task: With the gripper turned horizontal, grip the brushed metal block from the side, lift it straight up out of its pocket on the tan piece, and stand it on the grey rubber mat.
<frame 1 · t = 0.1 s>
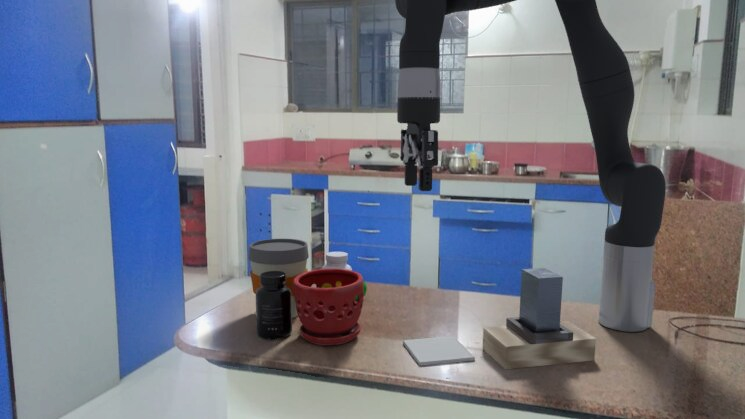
hand: (417, 188, 103), 29 cm above the counter, tool pointing down, fingers open, 8 cm apart
supplement bottle 2: (336, 312, 124), on the counter
polyhedron: (356, 299, 133), on the counter
supplement bottle: (274, 334, 111), on the counter
tan piece: (537, 354, 103), on the counter
brushed metal block: (538, 333, 102), point 4 cm above the counter, touching tan piece
rubber mat: (437, 351, 104), on the counter
plant pot: (328, 338, 110), on the counter
reusable coffee cup: (279, 313, 123), on the counter
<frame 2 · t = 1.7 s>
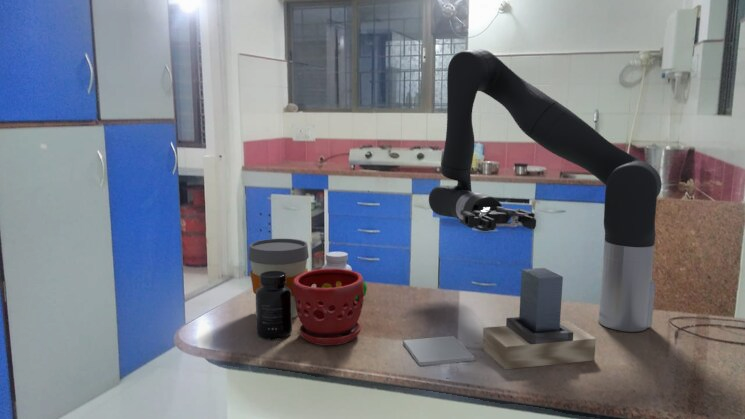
hand: (513, 224, 110), 22 cm above the counter, tool horizontal, fingers open, 8 cm apart
nothing on the counter moved.
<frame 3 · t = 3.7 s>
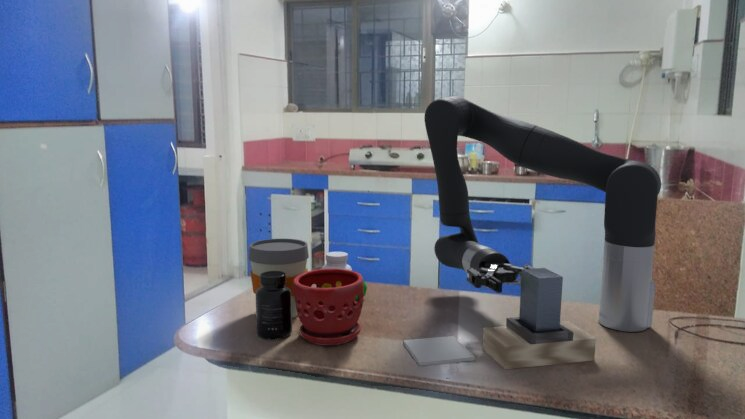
hand: (521, 286, 108), 11 cm above the counter, tool horizontal, fingers open, 8 cm apart
nothing on the counter moved.
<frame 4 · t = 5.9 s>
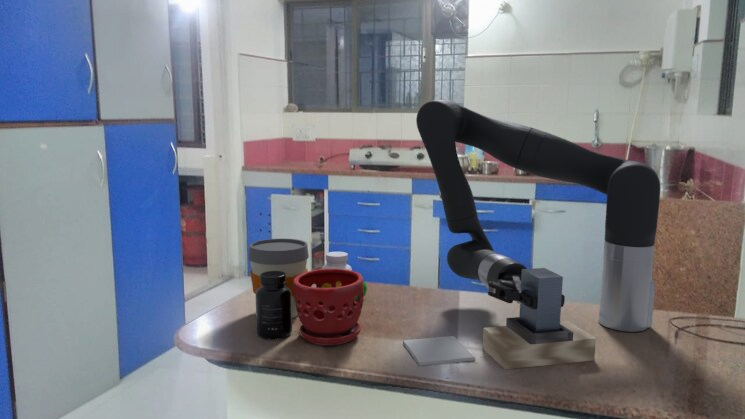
hand: (548, 302, 99), 10 cm above the counter, tool horizontal, fingers closed on brushed metal block, 4 cm apart
brushed metal block: (538, 333, 102), point 4 cm above the counter, touching gripper, tan piece
everything else where it was.
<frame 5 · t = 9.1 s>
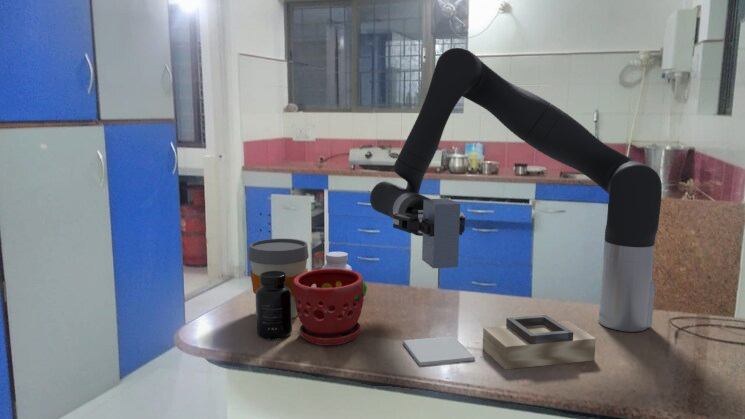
hand: (446, 229, 97), 23 cm above the counter, tool horizontal, fingers closed on brushed metal block, 4 cm apart
brushed metal block: (439, 263, 101), point 16 cm above the counter, touching gripper
everything else where it was.
when the fingers open (8 cm above the counter, at t = 12.2 s): brushed metal block drops 1 cm, resting on rubber mat.
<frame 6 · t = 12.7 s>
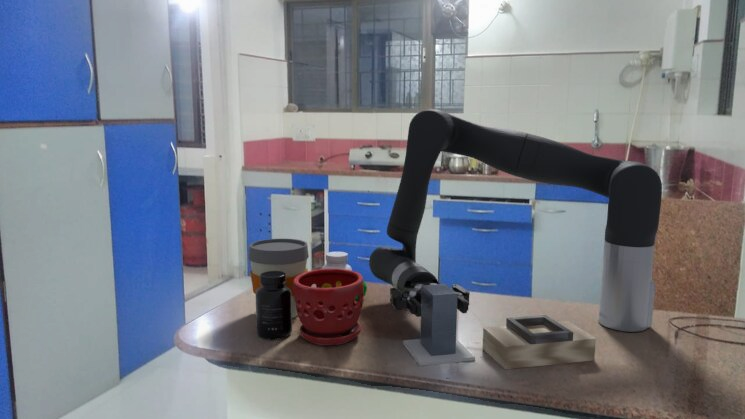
hand: (442, 309, 100), 9 cm above the counter, tool horizontal, fingers open, 8 cm apart
brushed metal block: (437, 348, 104), point 1 cm above the counter, touching rubber mat
everything else where it was.
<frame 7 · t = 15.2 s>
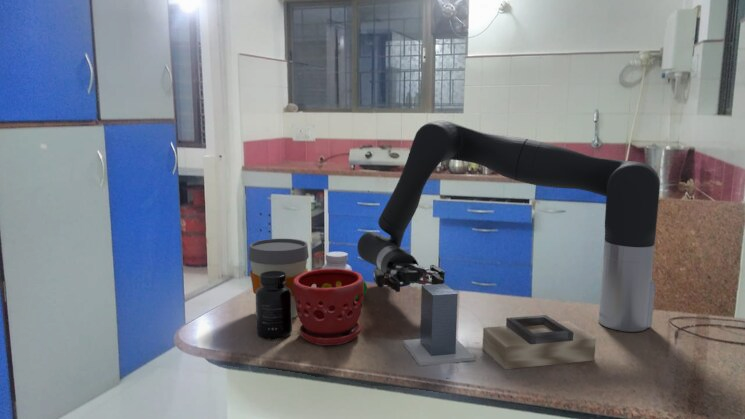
hand: (419, 285, 113), 9 cm above the counter, tool horizontal, fingers open, 8 cm apart
nothing on the counter moved.
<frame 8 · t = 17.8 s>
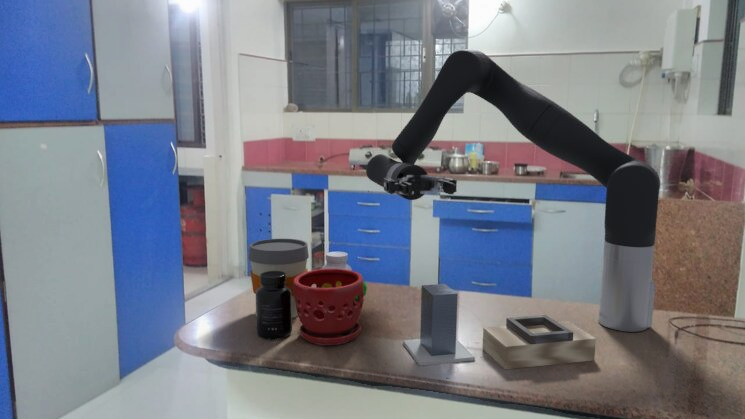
hand: (431, 189, 110), 28 cm above the counter, tool horizontal, fingers open, 8 cm apart
nothing on the counter moved.
at the end: brushed metal block inside the target area on the rubber mat (0.1 cm from its centre), point 0.6 cm above the rubber mat's base; brushed metal block tilted 0°; the gripper is holding nothing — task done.
